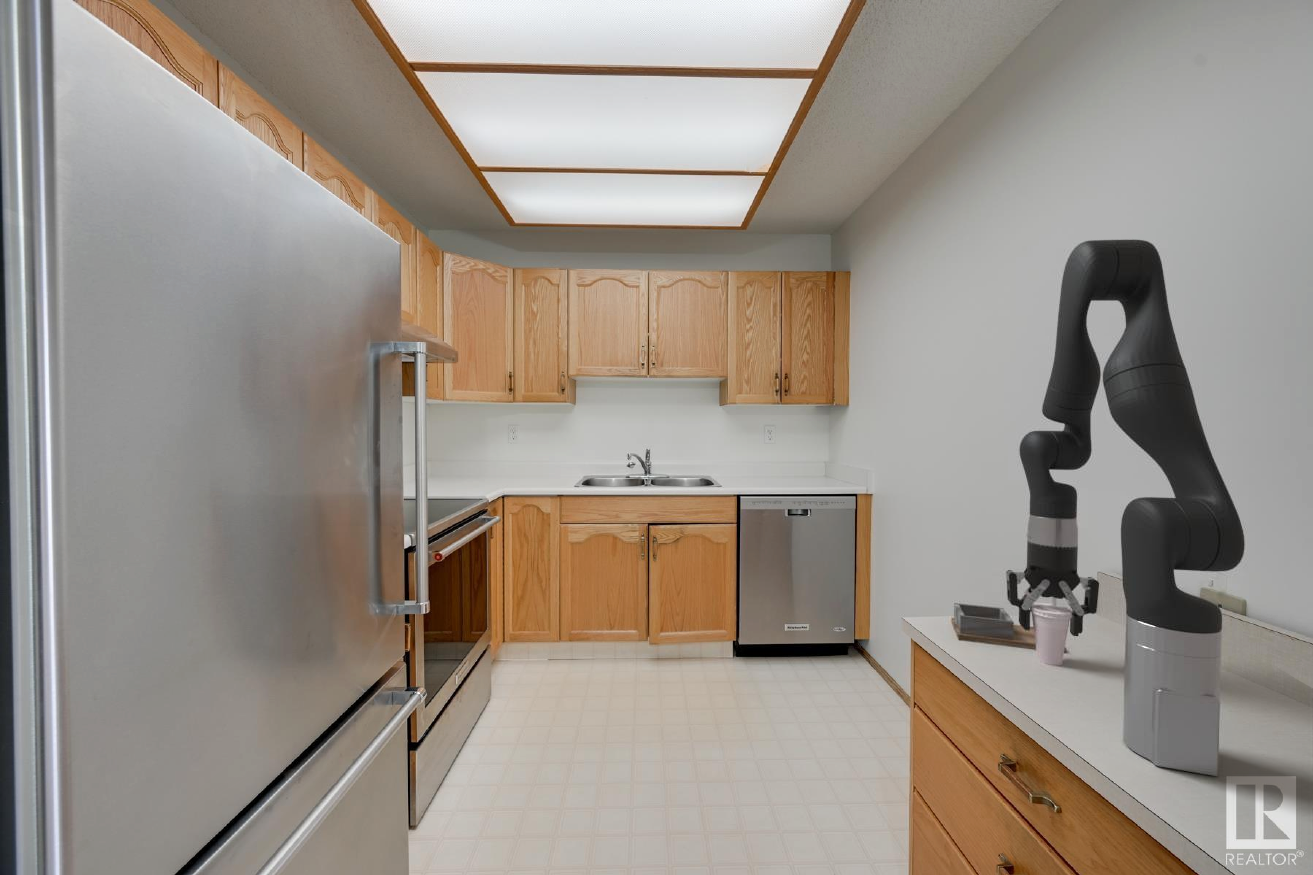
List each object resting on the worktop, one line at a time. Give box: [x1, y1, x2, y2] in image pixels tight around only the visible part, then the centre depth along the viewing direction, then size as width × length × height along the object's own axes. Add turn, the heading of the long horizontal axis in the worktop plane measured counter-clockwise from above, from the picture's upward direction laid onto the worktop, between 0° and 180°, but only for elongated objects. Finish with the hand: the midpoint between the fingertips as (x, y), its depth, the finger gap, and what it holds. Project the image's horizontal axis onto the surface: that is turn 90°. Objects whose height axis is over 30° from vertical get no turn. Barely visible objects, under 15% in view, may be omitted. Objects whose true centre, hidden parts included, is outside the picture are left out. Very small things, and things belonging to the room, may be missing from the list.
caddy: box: [950, 602, 1067, 654], centre depth 116 cm, size 11×18×4 cm, turn 69°
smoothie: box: [1029, 597, 1072, 666], centre depth 104 cm, size 6×6×14 cm
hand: (1049, 631), depth 104 cm, fingers open, 7 cm apart
